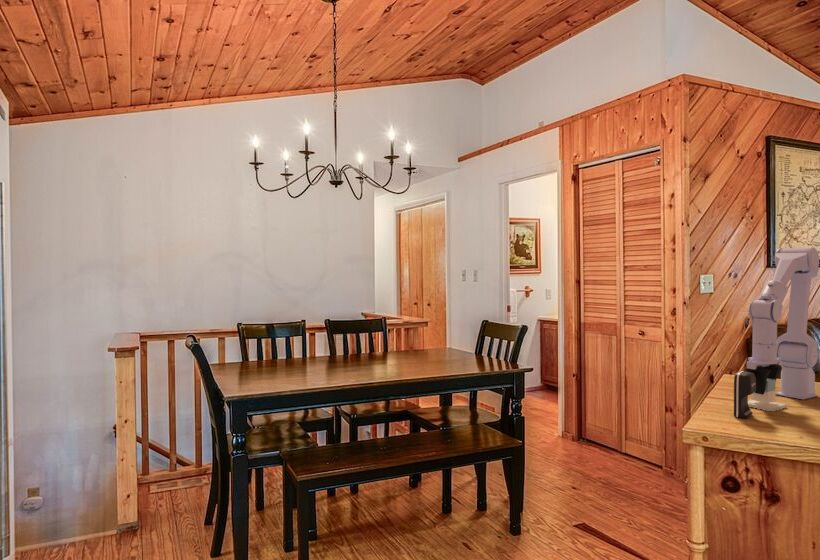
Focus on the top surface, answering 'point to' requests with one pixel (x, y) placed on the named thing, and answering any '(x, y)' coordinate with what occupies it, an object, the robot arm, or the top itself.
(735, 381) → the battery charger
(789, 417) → the top surface
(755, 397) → the brick stack
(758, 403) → the plate
